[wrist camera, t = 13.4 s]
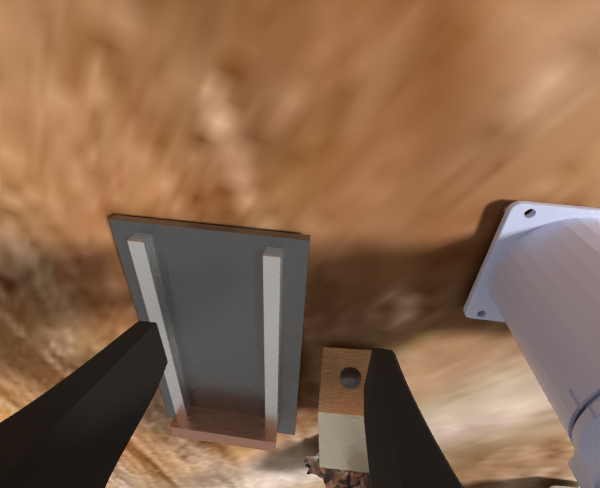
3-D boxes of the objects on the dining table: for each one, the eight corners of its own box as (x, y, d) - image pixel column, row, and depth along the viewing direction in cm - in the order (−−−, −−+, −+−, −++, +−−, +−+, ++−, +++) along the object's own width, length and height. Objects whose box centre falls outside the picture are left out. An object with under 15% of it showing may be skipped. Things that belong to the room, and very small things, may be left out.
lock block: (378, 347, 24) (385, 415, 19) (371, 406, 27) (375, 473, 23) (322, 344, 24) (317, 409, 20) (323, 402, 28) (319, 467, 24)
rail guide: (310, 235, 19) (305, 260, 17) (295, 428, 30) (291, 458, 28) (114, 214, 20) (86, 236, 18) (171, 409, 31) (158, 437, 29)
